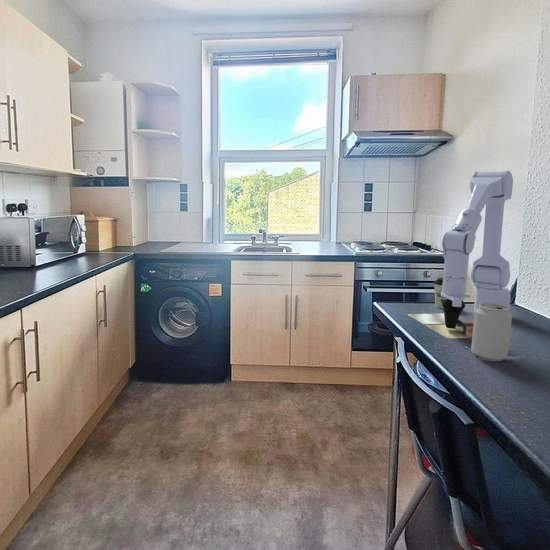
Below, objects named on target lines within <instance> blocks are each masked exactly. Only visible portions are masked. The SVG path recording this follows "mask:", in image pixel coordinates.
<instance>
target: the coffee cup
mask: <svg viewBox="0 0 550 550" xmlns="http://www.w3.org/2000/svg"><path fill="white" fill-rule="evenodd" d="M433 285H434V286H433V288H434V306H435V308H437V309H442V310H443V306H442V303H441V300H440V299H447V298H445V297H443V296H441V292H442V285H443V277H437V279H435V280H434V281H433Z"/></svg>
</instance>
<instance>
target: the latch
mask: <svg viewBox="0 0 550 550" xmlns="http://www.w3.org/2000/svg"><path fill="white" fill-rule="evenodd" d="M470 321H471V320H468V319H467V318H465V317H464V316H462V315H460V316H459V319H458V322H457V325H456V327H455V329H457V330H458V331H460V332H461V333H466V326H473V323H472V322H470Z"/></svg>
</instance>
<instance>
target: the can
mask: <svg viewBox="0 0 550 550" xmlns="http://www.w3.org/2000/svg"><path fill="white" fill-rule="evenodd" d="M510 309H511V308H509V307H507V306H505V305H501V304H494V303H481V304H479V308H477V309H476V310H475V312H474V315H473V317H474V318H473V321H474V325H473V335H472V338H471V345H470V346H471V347H470V351H471V353H472V354H474V355H476V356H475V357H476V358H478V359H480V360H483V361H488V362H502V361H503V360H505V359H506V358H508V356H509V348H510V347H509V346H510V338H511V330H512V322H513V321H512V320H513V314H512V313H511V312H510Z"/></svg>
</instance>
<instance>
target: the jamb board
mask: <svg viewBox="0 0 550 550" xmlns="http://www.w3.org/2000/svg"><path fill="white" fill-rule="evenodd" d="M406 315H408V316H409V317H410V318H412V319H414V320H416V321H417V322H418V323H421V324H423V325H424V326H425V327H428V328H429V329H431V330H432V331H434V332H435V333H437V334H438V335H440V336H442V337H444V338H445V339H446V340H447V339H448V340H449V339H472V335H473V326H466V333H461V332H460V331H458V330H457V329H452V328H447V327H446V325H445V318H444V312H443V313H408V314H407V313H406ZM469 321H470V322H472V323H473V325H474V320H469Z"/></svg>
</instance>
